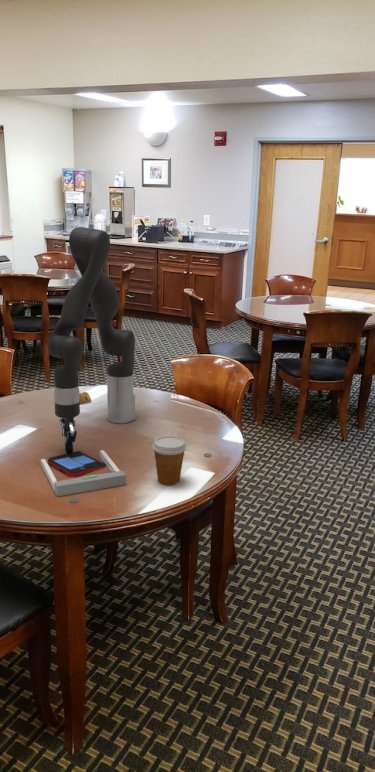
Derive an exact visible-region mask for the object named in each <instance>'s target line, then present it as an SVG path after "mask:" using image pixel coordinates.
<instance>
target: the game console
mask: <svg viewBox="0 0 375 772" xmlns="http://www.w3.org/2000/svg"><path fill="white" fill-rule="evenodd" d="M47 464H48V465H49V467H51V468H53V469H55V470H57V471H59V472H60V473H63V474H64V475H65V476H68V477H70V478H79V477H80V476H82V475H85V474H88V473H92V472H95V471H97V470H101V469H103V468H106V467H107V465H106V464H105V463H104V462H102V461H100V460H98V459H96V458H94V457H93V456H90V455H88V454H86V453H84V452H82V451H80V450H76V451H73V452H72V453H68V454H67V453H62V454H59V455H54V456H50V457H48V459H47Z"/></svg>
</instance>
